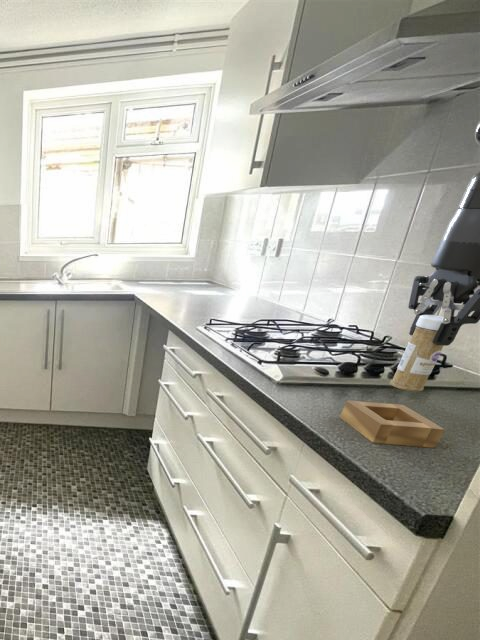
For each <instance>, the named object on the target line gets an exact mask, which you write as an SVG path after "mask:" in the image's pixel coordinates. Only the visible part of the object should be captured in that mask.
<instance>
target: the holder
mask: <svg viewBox="0 0 480 640" xmlns="http://www.w3.org/2000/svg"><path fill="white" fill-rule="evenodd" d="M339 418H340V419H341V420H342V421H343V422H345V423H346V424H348V425H349V426H350V427H352V429H354V430H355V431H357V432H358V433H359V434H360V435H362V436H363V437H365V438H366V439H367V440H369V442H371V443H372V444H384V445H393V446H394V445H396V446H406V447H419V448H428V449H429V448H431V449H435V448H436V446H438V445H437V444H438V443H439V441H440V439H441V437H442V435H443V433H444V431H446V430H445V428H443V427H441V426H439V425H438V424H436V423H435V422H433V421H432V420H430V419H428V418H427V417H425V416H423V415H421V414H420V413H418V412H416V411H415V410H413V409H411V408H409V407H407V406H405V405H404V404H397V403H386V402H385V403H384V402H371V401H357V400H346V401H345V404H344V407H343V408H342V410H341V413H340V416H339Z"/></svg>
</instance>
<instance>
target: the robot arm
mask: <svg viewBox="0 0 480 640" xmlns="http://www.w3.org/2000/svg"><path fill="white" fill-rule="evenodd" d="M474 139H475V142H476V144H478V145H479V146H480V120H479V121H478V122H477V124H476V126H475V129H474ZM467 183H468V184H467V186H466V189H465V191H464V193H463V194H462V196H461V197H462V198H461V199H460V202H459V204H458V206H457V209H456V210H455V212H454V213H453V215H452V217H451V219H450V220H449V222H448V224H447V226H446V228H445V231H444V232H443V235H442V237H441V240H440V242H439V244H438V246H437V248H436V250H435V253H434V255H433V258H432V260H431V262H430V266H431V267H432V268H434V271H433V272H432V273H431V274H430V275H416V276H415V277H414V278H413V282H412V288H411V292H410V298H409V300H408V301H409V302H408V309H409V310H413V311H414V315H415V317H414V319H413V322H412V324H411V326H410V328H409V329H410V330H409V332H408V334H409V335H410V336H412V335H413V333H414V331H415V329H416V328H415V327H416V323H417V321H418V319H419V317H420V316H421V315H436V314H437V312H438V311H439V310H440V309H442V310H443V311H444V313H443V316H444V318H443V323H441V325H440V327H439V329H438V331H437V333H436V335H435V337H434V340H433V344H436V345H443V347H444V346H445V347H447V346H450V345H451V344H452V343H453V342H454V341H455V339H456V337H457V335H458V332H459V331H460V329H461V327H462V326H463V325H468V324H469V325H470V324H473V325H474V324H478V322H479V321H480V170H478V171H476V172H475V173H474V174H473V175H472V176H471V178H470V180H469V182H467ZM419 301H420V302H419ZM455 311H457V314H456V316H455ZM472 312H473V313H472ZM471 313H472V314H471ZM470 314H471V315H470Z"/></svg>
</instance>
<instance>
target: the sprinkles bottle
mask: <svg viewBox="0 0 480 640" xmlns="http://www.w3.org/2000/svg"><path fill="white" fill-rule="evenodd" d="M443 318H444V315H436V314H434V315H421V316H420V317H419V319H418V321H417V323H416V327H415V328H416V329H415V331H414V333H413V335H411V338H409V339H410V340H409V341H408V342H407V346H406V348H405V350H404V352H403V354H402V355H401V358H400V360H399V363H398V365H397V366H396V368H397V369H396V371H395V373H394V376H393V377H392V379H391V380H390V382H389V384H390V386H392V387H394V388H396V389H400V390H402V391H408V392H423V390H424V389H425V385H426V383H427V380H428V379H429V377H430V375H431V374H432V372H433V369H434V368H435V366H436V363H437V361H438V359H439V358H440V355H441V353H442V350H443V347H444V346H443V345H436V344H433V340H434V337H435V335H436V333H437V331H438V329H439V327H440V325H441V323H443Z"/></svg>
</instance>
